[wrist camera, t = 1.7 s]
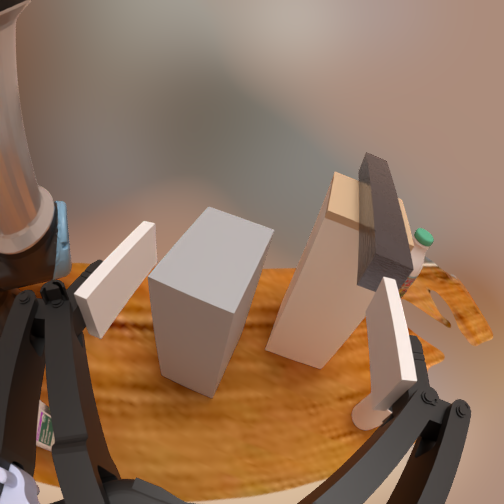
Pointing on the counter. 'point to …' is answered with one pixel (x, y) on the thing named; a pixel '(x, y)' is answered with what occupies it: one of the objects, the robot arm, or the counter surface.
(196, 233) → the tall grey pillar block
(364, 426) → the white cup
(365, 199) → the handle rail
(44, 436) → the syrup box
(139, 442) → the counter surface
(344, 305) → the cabinet block
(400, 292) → the milk bottle
